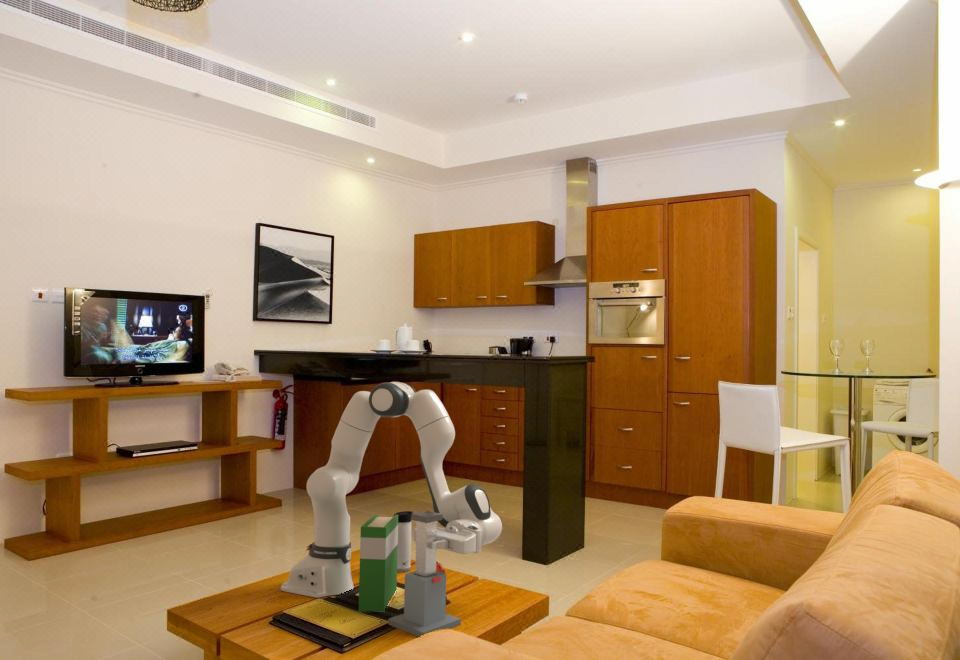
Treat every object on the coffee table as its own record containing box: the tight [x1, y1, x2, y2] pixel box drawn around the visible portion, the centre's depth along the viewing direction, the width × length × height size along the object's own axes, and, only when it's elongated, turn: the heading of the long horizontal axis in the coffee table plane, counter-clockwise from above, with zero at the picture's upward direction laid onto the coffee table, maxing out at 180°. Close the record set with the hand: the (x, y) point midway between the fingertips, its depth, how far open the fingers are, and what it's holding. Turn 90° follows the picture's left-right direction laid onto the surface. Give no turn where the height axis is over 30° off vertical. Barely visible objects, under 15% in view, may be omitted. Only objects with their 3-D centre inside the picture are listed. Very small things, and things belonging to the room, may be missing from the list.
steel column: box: [411, 510, 442, 578], centre depth 189 cm, size 6×6×26 cm
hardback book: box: [357, 513, 398, 613], centre depth 206 cm, size 18×7×24 cm, turn 175°
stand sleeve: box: [387, 571, 462, 638], centre depth 188 cm, size 14×14×14 cm
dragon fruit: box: [436, 560, 446, 574], centre depth 222 cm, size 8×8×12 cm
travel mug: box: [393, 510, 414, 573], centre depth 239 cm, size 6×7×20 cm
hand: (423, 544), depth 188 cm, fingers closed on steel column, 4 cm apart
